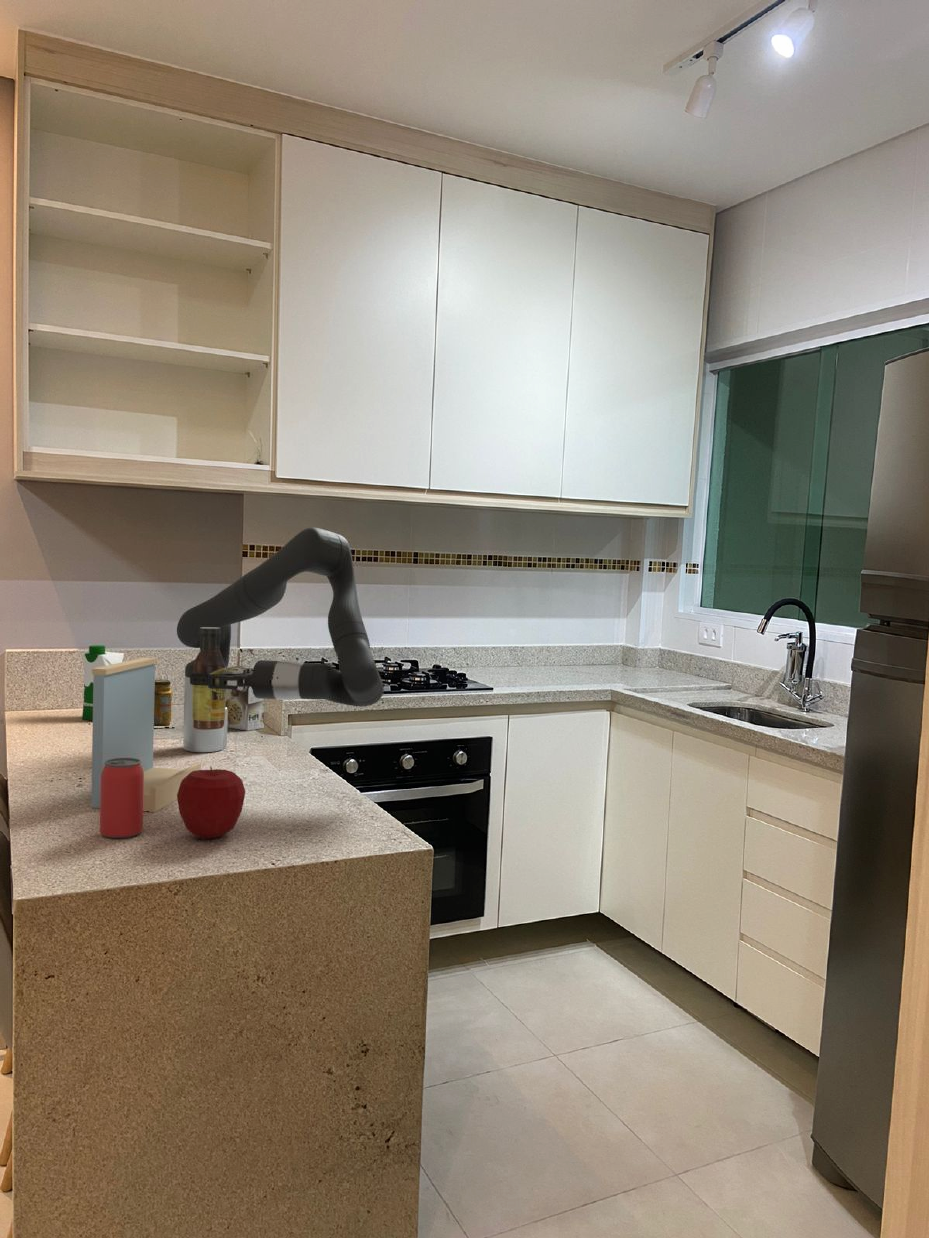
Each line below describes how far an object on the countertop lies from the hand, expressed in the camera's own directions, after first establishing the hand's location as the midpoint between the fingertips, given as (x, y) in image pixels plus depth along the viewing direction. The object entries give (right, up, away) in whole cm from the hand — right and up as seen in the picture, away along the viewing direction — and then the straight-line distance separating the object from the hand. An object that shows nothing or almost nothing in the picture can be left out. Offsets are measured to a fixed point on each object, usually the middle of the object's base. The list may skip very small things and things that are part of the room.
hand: (197, 676), depth 181 cm
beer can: (-4, -24, -31) cm, 39 cm away
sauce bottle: (+2, -10, 0) cm, 10 cm away
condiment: (-28, -17, +62) cm, 70 cm away
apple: (+11, -24, -30) cm, 40 cm away
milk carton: (-46, -16, +68) cm, 84 cm away
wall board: (-7, -22, -7) cm, 24 cm away
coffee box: (-7, -18, +65) cm, 68 cm away
